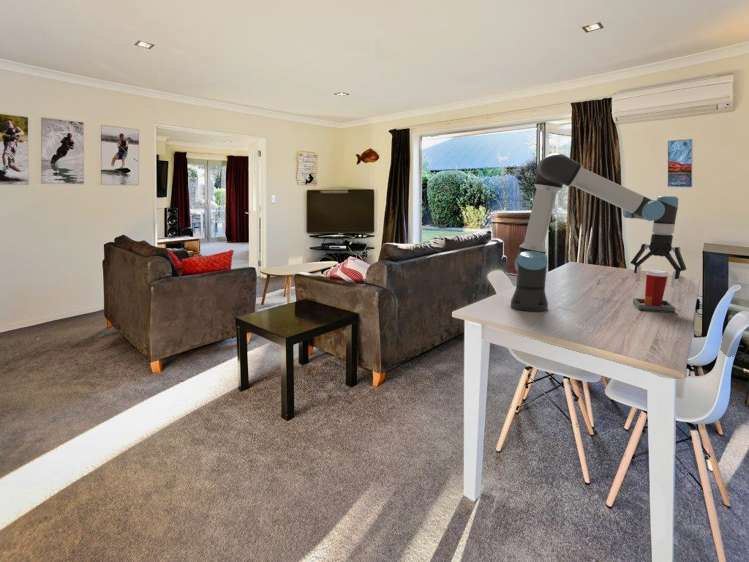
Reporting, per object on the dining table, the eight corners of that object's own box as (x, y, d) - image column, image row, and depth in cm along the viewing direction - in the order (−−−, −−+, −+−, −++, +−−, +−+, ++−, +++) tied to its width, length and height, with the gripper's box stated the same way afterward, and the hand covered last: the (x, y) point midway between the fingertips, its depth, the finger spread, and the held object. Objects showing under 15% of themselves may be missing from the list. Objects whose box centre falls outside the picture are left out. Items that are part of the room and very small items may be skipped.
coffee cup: (665, 305, 191) (670, 271, 188) (662, 309, 184) (667, 273, 182) (643, 302, 196) (647, 268, 193) (639, 305, 190) (643, 271, 187)
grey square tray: (638, 310, 186) (639, 304, 186) (632, 303, 198) (633, 298, 198) (674, 312, 182) (675, 307, 182) (666, 305, 194) (667, 300, 194)
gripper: (700, 236, 177) (691, 288, 181) (633, 231, 196) (627, 278, 200) (695, 237, 172) (685, 290, 177) (626, 231, 191) (620, 279, 195)
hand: (654, 283), depth 188 cm, fingers open, 13 cm apart
